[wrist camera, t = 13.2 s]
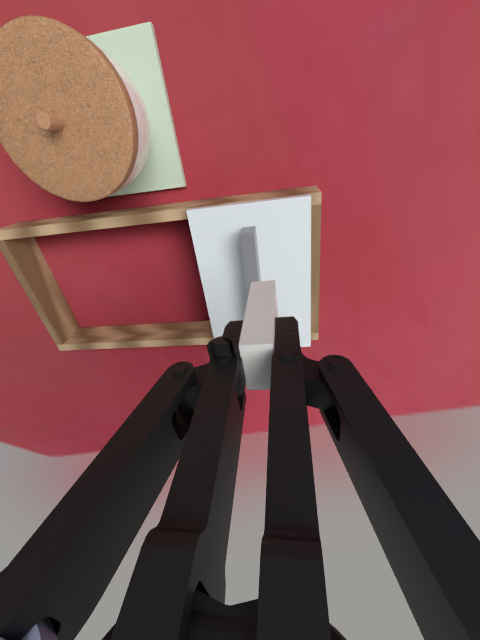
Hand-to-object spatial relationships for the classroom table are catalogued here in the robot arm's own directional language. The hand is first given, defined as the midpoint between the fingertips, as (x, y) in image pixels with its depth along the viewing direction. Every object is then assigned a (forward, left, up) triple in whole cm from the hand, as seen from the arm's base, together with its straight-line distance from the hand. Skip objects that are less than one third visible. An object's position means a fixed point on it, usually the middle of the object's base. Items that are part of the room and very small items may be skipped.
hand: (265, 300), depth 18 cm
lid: (-2, -4, -11) cm, 12 cm away
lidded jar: (-14, +12, -15) cm, 23 cm away
